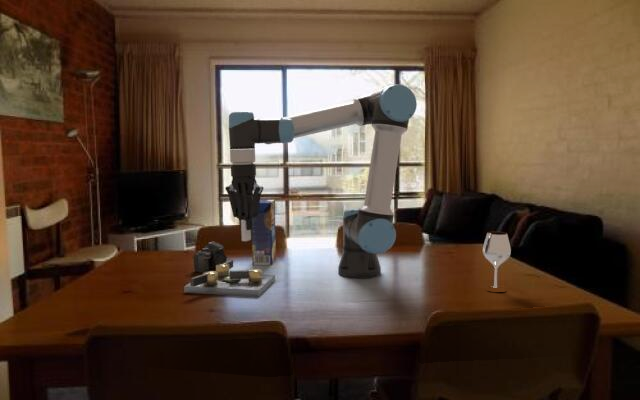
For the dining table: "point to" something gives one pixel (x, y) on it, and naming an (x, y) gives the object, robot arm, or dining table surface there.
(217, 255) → the camera
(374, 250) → the robot arm
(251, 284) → the level plate
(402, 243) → the dining table surface
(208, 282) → the knob near
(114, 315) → the dining table surface
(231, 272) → the knob arm
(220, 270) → the knob far
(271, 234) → the juice carton
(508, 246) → the wineglass
